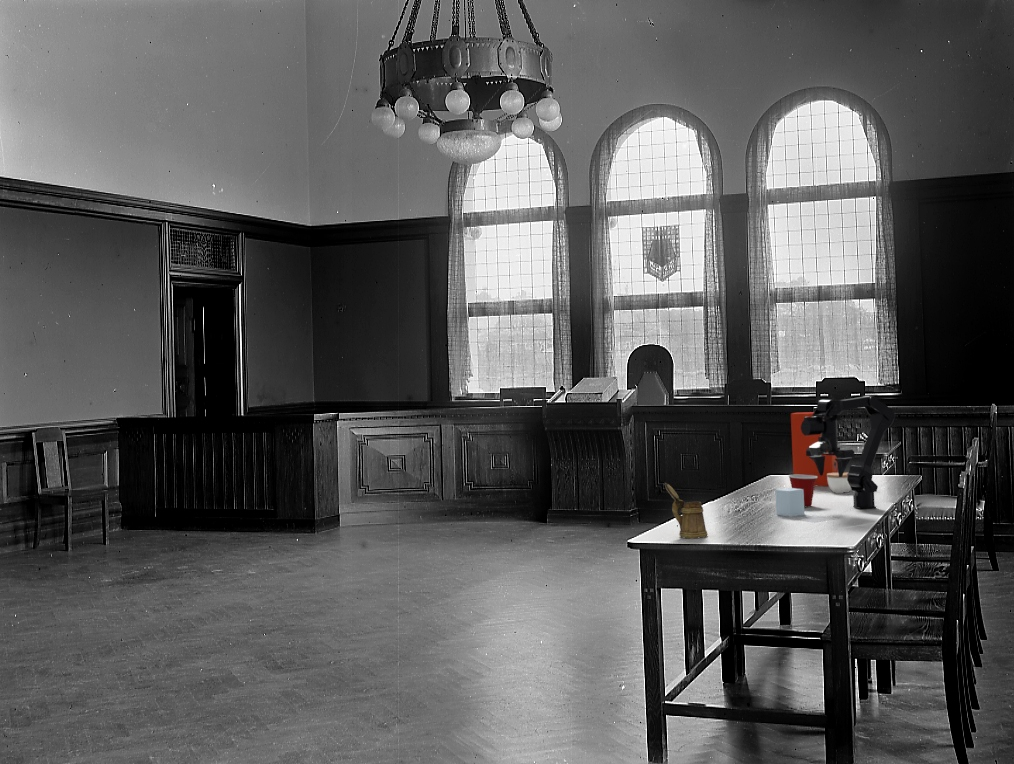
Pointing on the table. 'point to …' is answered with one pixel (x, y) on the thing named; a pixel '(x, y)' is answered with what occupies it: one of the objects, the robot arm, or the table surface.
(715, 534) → the table surface
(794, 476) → the plastic cup
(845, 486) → the lidded jar
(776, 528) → the table surface
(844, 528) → the table surface
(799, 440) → the file binder
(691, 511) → the wooden mug
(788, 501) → the light blue block
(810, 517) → the mat
